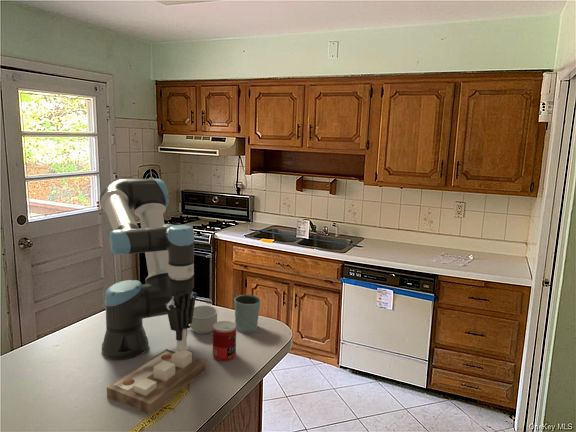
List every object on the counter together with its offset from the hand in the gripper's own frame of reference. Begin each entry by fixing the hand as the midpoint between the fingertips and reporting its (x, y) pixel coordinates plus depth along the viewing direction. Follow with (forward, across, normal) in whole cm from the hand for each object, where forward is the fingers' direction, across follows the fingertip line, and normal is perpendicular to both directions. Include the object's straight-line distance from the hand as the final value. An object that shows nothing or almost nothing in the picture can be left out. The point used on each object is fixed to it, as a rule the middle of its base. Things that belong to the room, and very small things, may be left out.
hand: (181, 348), depth 134 cm
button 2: (+6, 0, 0) cm, 6 cm away
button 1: (+8, -16, 0) cm, 18 cm away
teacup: (+8, +27, +13) cm, 31 cm away
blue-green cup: (+8, +37, -2) cm, 38 cm away
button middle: (+6, -8, 0) cm, 10 cm away
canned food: (+8, +15, -6) cm, 18 cm away
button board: (+8, -8, +2) cm, 12 cm away
